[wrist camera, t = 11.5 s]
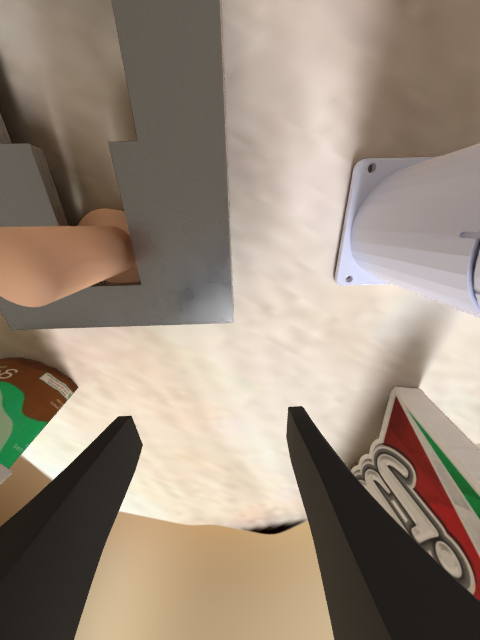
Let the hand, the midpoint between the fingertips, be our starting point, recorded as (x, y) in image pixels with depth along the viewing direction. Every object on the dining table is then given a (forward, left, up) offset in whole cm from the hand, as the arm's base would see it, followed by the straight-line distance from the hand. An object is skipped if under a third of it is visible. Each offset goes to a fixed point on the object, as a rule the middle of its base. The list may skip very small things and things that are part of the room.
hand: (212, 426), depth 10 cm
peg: (+7, -7, -9) cm, 14 cm away
